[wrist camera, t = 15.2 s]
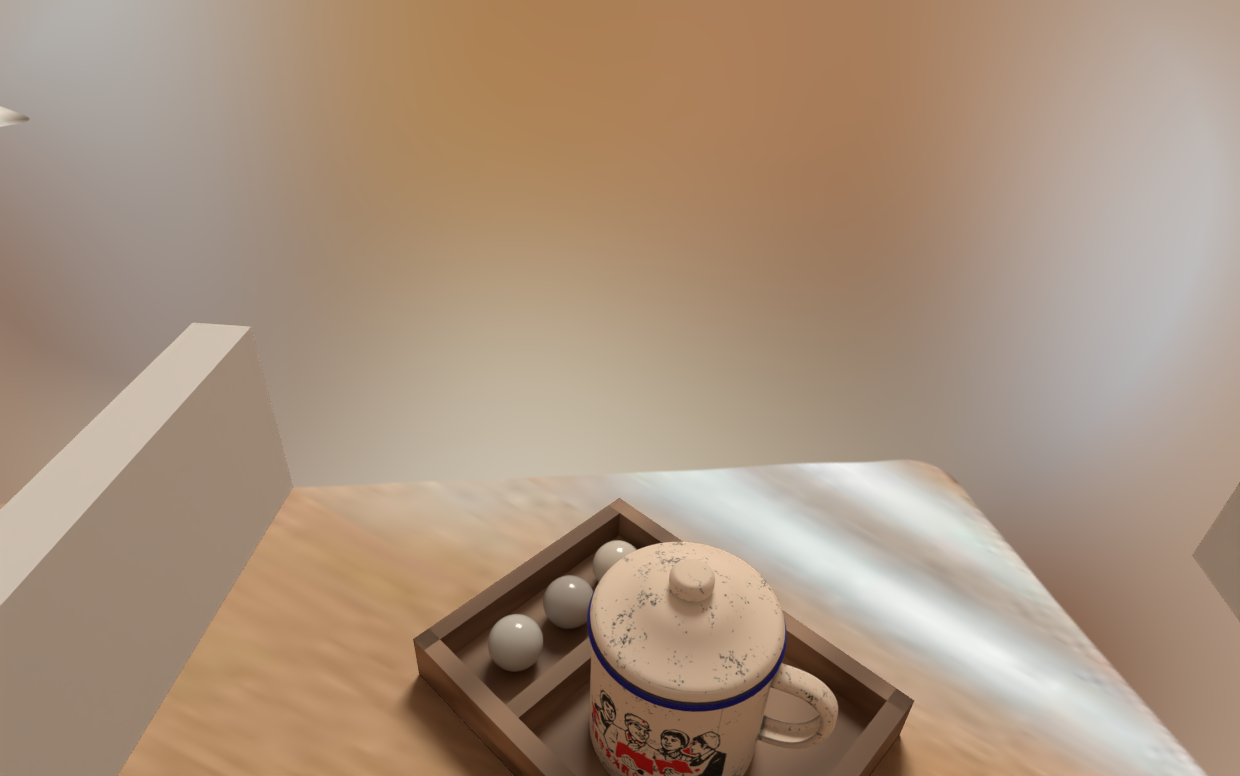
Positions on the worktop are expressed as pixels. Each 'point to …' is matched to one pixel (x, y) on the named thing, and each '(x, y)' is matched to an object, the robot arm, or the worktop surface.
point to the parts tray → (560, 679)
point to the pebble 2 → (567, 601)
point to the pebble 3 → (610, 556)
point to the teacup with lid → (691, 666)
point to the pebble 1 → (515, 642)
